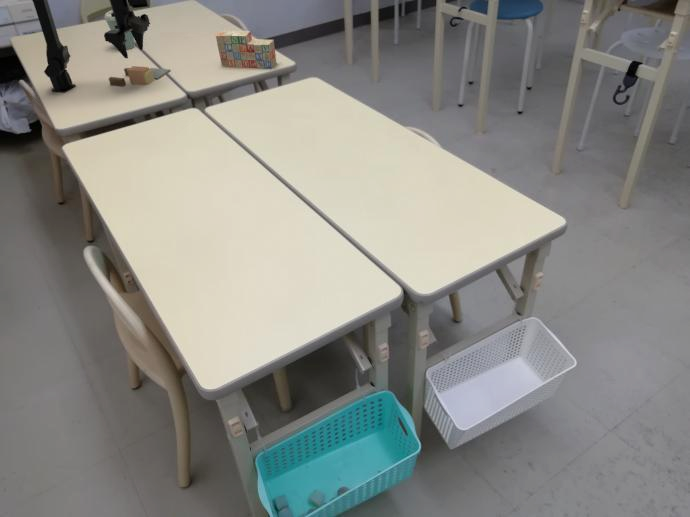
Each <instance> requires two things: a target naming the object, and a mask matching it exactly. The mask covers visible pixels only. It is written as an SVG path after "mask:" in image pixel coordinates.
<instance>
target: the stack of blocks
mask: <svg viewBox="0 0 690 517" xmlns="http://www.w3.org/2000/svg"><path fill="white" fill-rule="evenodd" d="M215 38H216V45H217V50H218V53H219V58H220V64H221V67H223V68H246V69H247V68H248V69H249V68H251V69H268V70H269V69H273V68H274V67H275V65H276V64H277V57H276V55H277V54H276V48H275V39H266V38H265V39H262V38H261V39H259V38H256V39H255V38H253V37H252V32H251V31H250V30H221V31H220V32H218V33H217V34H216V35H215Z"/></svg>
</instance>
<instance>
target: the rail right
mask: <svg viewBox="0 0 690 517" xmlns="http://www.w3.org/2000/svg"><path fill="white" fill-rule="evenodd" d="M129 68H130V67H125V68H124V69H123V70H124V73H125V76H126V77H129V76H128V72H127V69H129Z"/></svg>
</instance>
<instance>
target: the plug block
mask: <svg viewBox="0 0 690 517" xmlns="http://www.w3.org/2000/svg"><path fill="white" fill-rule="evenodd" d="M128 68H129V69H127V72H128V76H127V77H128V78H129V81H130V84H140V85H150V84H151V83H153V82H155V80H156V79H154V76H153V73H152V70H149V69H150V67H148V66H137V65H132V66H131V67H128Z"/></svg>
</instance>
